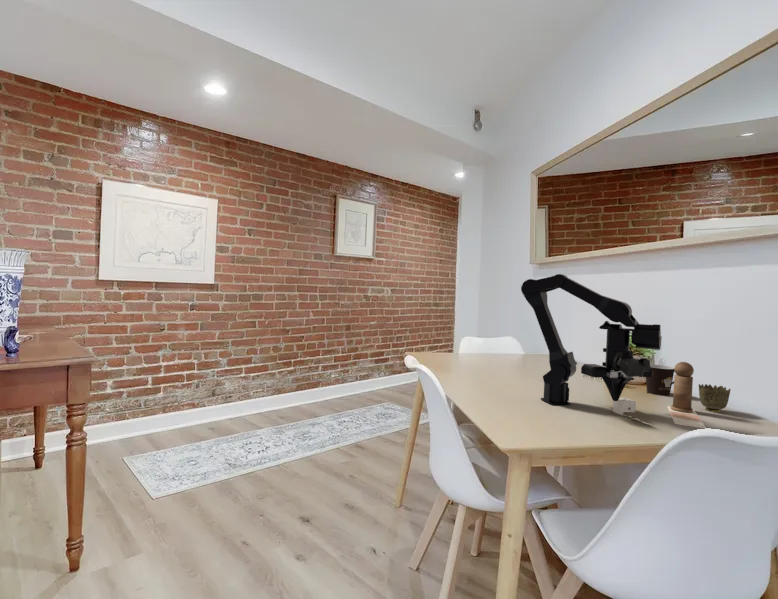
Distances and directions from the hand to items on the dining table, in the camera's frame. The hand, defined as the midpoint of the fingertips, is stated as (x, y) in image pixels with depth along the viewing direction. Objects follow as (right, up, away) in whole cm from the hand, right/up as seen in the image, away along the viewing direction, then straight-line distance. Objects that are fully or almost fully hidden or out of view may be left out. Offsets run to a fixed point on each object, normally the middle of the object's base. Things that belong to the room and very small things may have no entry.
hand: (615, 400), depth 120 cm
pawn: (+21, -3, +3) cm, 21 cm away
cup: (+31, -5, +4) cm, 31 cm away
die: (+3, -4, +1) cm, 5 cm away
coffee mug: (+29, -4, +24) cm, 38 cm away
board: (+17, -4, -3) cm, 18 cm away
